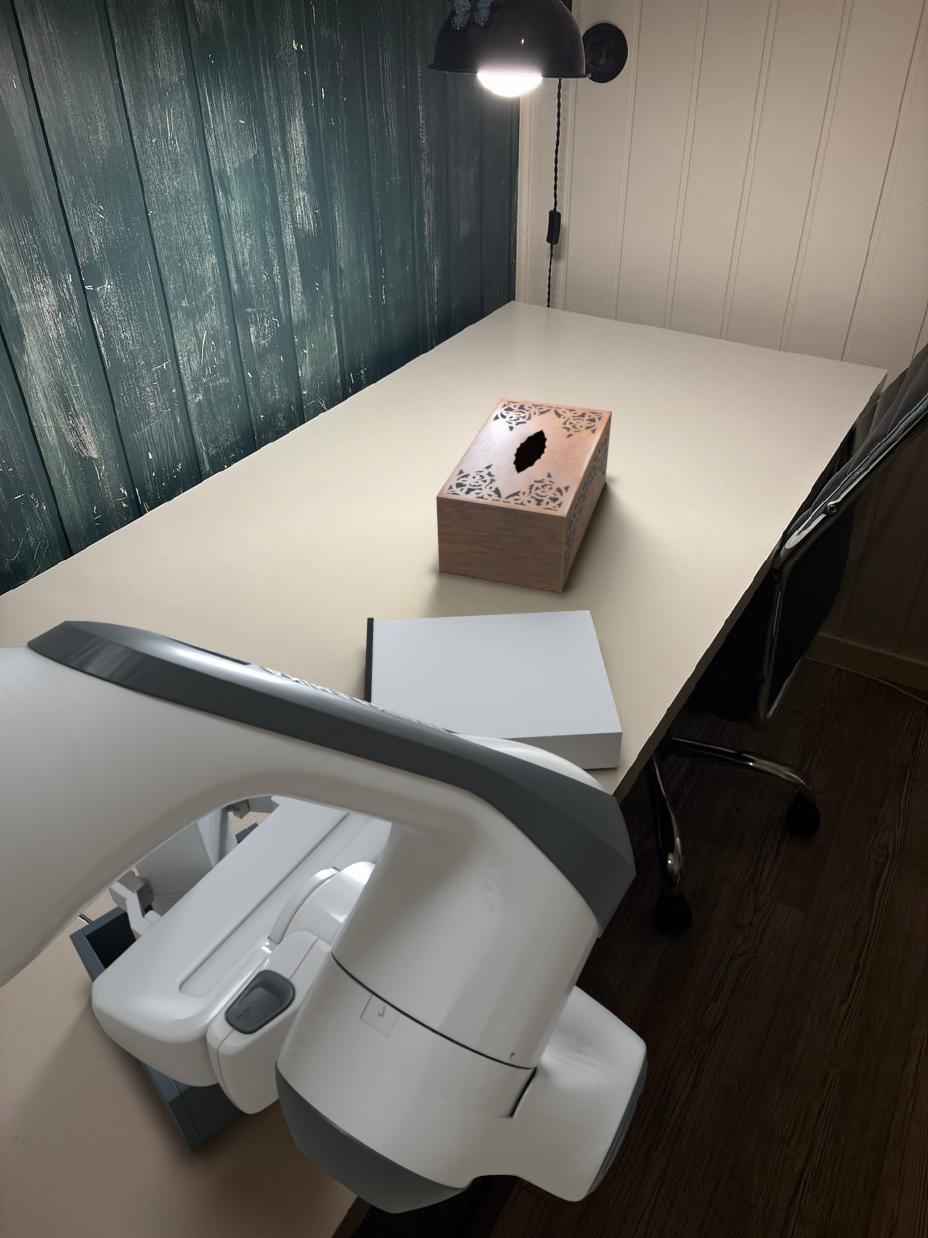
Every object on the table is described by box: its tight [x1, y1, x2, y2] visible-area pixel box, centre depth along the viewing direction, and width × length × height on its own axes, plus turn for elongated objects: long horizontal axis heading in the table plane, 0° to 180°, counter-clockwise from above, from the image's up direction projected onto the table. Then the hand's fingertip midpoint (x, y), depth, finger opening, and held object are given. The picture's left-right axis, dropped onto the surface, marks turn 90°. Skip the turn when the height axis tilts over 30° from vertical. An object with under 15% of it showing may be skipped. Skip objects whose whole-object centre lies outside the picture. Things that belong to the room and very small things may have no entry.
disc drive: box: [363, 609, 623, 770], centre depth 87 cm, size 18×22×5 cm
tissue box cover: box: [435, 396, 613, 593], centre depth 111 cm, size 26×14×10 cm, turn 162°
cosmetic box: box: [134, 806, 238, 916], centre depth 55 cm, size 6×4×12 cm
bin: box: [68, 822, 259, 1152], centre depth 64 cm, size 15×15×7 cm
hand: (175, 836), depth 55 cm, fingers closed on cosmetic box, 7 cm apart
